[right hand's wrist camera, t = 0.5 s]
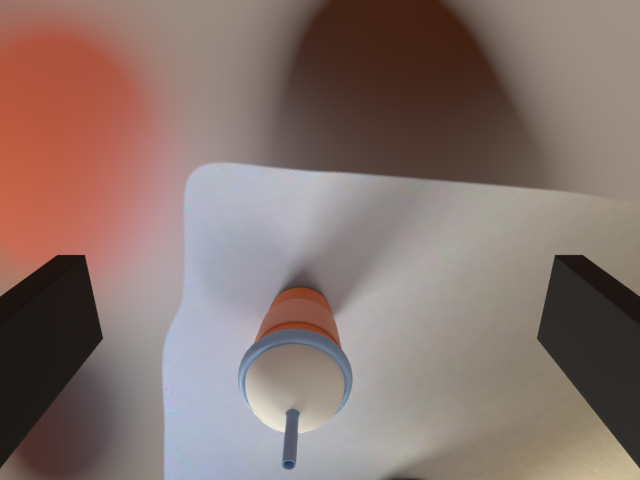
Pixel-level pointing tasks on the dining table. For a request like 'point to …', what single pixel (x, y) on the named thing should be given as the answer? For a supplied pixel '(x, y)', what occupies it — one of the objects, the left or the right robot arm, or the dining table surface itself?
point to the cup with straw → (296, 368)
